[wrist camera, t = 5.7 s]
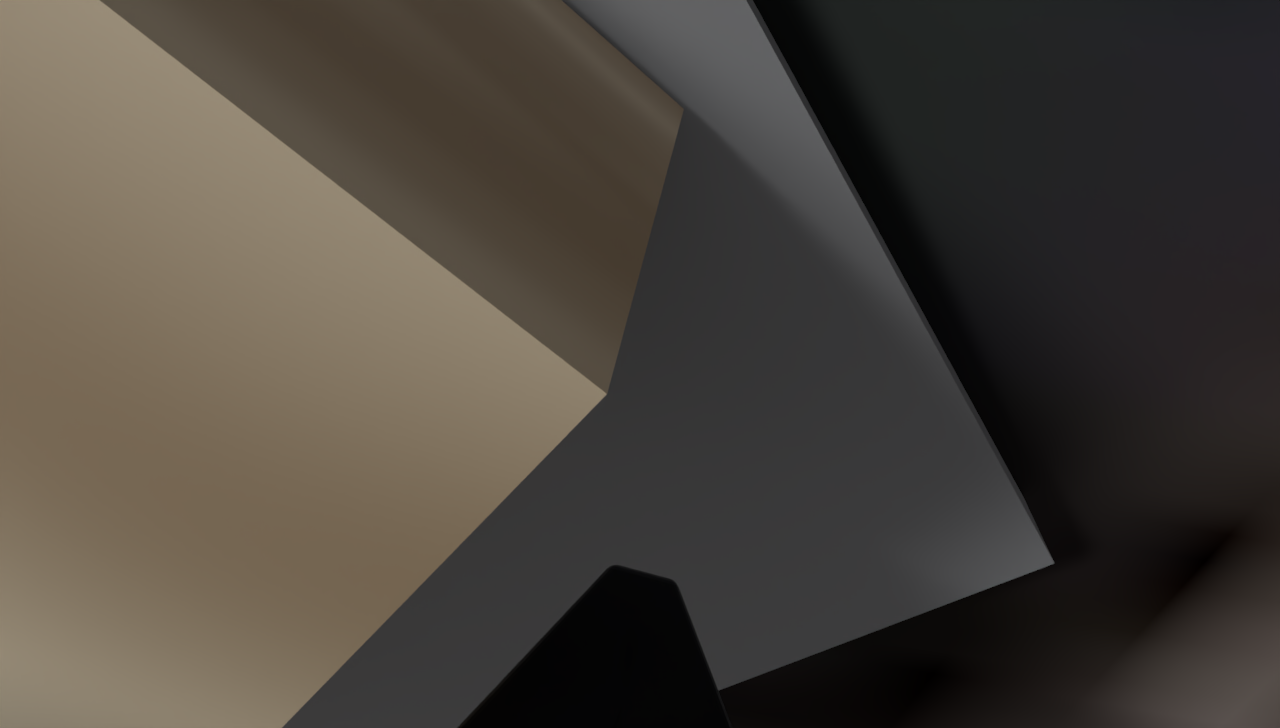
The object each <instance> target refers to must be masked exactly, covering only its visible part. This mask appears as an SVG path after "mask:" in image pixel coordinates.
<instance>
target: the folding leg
mask: <svg viewBox="0 0 1280 728" xmlns="http://www.w3.org/2000/svg"><path fill="white" fill-rule="evenodd" d="M683 111H684V109H683V108H682V107H681V106H680V105H679V104H678V103H677V102H675V101H674V100H673V99H672V98H671V97H670V96H669V95H668V94H666V93H665V92H664V91H663V90H662V89H661V88H660V87H659V86H657V85H656V84H655V83H654V82H653V81H652V80H651V79H650V78H648V77H647V76H646V75H645V74H644V73H643V72H642V71H641V70H639V69H638V68H637V67H636V66H635V65H634V64H633V63H632V62H630V61H629V60H628V59H627V58H626V57H625V56H624V55H623V54H621V53H620V52H619V51H618V50H617V49H616V48H615V47H614V46H612V45H611V44H610V43H609V42H608V41H607V40H606V39H605V38H603V37H602V36H601V35H600V34H599V33H598V32H597V31H596V30H594V29H593V28H592V27H591V26H590V25H589V24H588V23H587V22H585V21H584V20H583V19H582V18H581V17H580V16H579V15H578V14H576V13H575V12H574V11H573V10H572V9H571V8H570V7H569V6H567V5H566V4H565V3H564V2H563V1H562V0H0V728H282V727H283V726H284V725H285V724H286V723H287V722H288V721H289V720H290V719H291V718H292V717H293V716H294V715H295V714H296V713H297V712H298V711H299V710H300V709H301V708H302V706H303V705H304V704H305V703H306V702H307V701H308V700H309V699H310V698H311V697H312V696H313V695H314V694H315V693H316V692H317V691H318V690H319V689H320V688H321V687H322V686H323V685H324V684H325V683H326V682H327V681H328V680H329V679H330V678H331V677H332V676H333V675H334V674H335V673H336V672H337V671H338V670H339V669H340V668H341V666H342V665H343V664H344V663H345V662H346V661H347V660H348V659H349V658H350V657H351V656H352V655H353V654H354V653H355V652H356V651H357V650H358V649H359V648H360V647H361V646H362V645H363V644H364V643H365V642H366V641H367V640H368V639H369V638H370V637H371V636H372V635H373V634H374V633H375V632H376V631H377V630H378V629H379V627H380V626H381V625H382V624H383V623H384V622H385V621H386V620H387V619H388V618H389V617H390V616H391V615H392V614H393V613H394V612H395V611H396V610H397V609H398V608H399V607H400V606H401V605H402V604H403V603H404V602H405V601H406V600H407V599H408V598H409V597H410V596H411V595H412V594H413V593H414V592H415V591H416V590H417V589H418V587H419V586H420V585H421V584H422V583H423V582H424V581H425V580H426V579H427V578H428V577H429V576H430V575H431V574H432V573H433V572H434V571H435V570H436V569H437V568H438V567H439V566H440V565H441V564H442V563H443V562H444V561H445V560H446V559H447V558H448V557H449V556H450V555H451V554H452V553H453V552H454V551H455V550H456V549H457V547H458V546H459V545H460V544H461V543H462V542H463V541H464V540H465V539H466V538H467V537H468V536H469V535H470V534H471V533H472V532H473V531H474V530H475V529H476V528H477V527H478V526H479V525H480V524H481V523H482V522H483V521H484V520H485V519H486V518H487V517H488V516H489V515H490V514H491V513H492V512H493V511H494V510H495V508H496V507H497V506H498V505H499V504H500V503H501V502H502V501H503V500H504V499H505V498H506V497H507V496H508V495H509V494H510V493H511V492H512V491H513V490H514V489H515V488H516V487H517V486H518V485H519V484H520V483H521V482H522V481H523V480H524V479H525V478H526V477H527V476H528V475H529V474H530V473H531V472H532V471H533V470H534V468H535V467H536V466H537V465H538V464H539V463H540V462H541V461H542V460H543V459H544V458H545V457H546V456H547V455H548V454H549V453H550V452H551V451H552V450H553V449H554V448H555V447H556V446H557V445H558V444H559V443H560V442H561V441H562V440H563V439H564V438H565V437H566V436H567V435H568V434H569V433H570V432H571V431H572V430H573V428H574V427H575V426H576V425H577V424H578V423H579V422H580V421H581V420H582V419H583V418H584V417H585V416H586V415H587V414H588V413H589V412H590V411H591V410H592V409H593V408H594V407H595V406H596V405H597V404H598V403H599V402H600V401H601V400H602V399H603V398H604V397H605V396H606V395H607V393H608V389H609V385H610V381H611V378H612V374H613V370H614V367H615V363H616V359H617V355H618V352H619V348H620V344H621V341H622V337H623V333H624V329H625V326H626V322H627V318H628V315H629V311H630V307H631V303H632V300H633V296H634V292H635V289H636V285H637V281H638V278H639V274H640V270H641V266H642V263H643V259H644V255H645V252H646V248H647V244H648V240H649V237H650V233H651V229H652V226H653V222H654V218H655V214H656V211H657V207H658V203H659V200H660V196H661V192H662V189H663V185H664V181H665V177H666V174H667V170H668V166H669V163H670V159H671V155H672V151H673V148H674V144H675V140H676V137H677V133H678V129H679V125H680V122H681V118H682V114H683Z"/></svg>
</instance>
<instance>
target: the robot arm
mask: <svg viewBox="0 0 1280 728" xmlns="http://www.w3.org/2000/svg"><path fill="white" fill-rule="evenodd" d="M457 728H732V725H731V722H730V720H729V717H728V715H727V712H726V709H725V707H724V704H723V701H722V699H721V696H720V694H719V691H718V688H717V686H716V683H715V681H714V678H713V675H712V673H711V670H710V668H709V665H708V662H707V660H706V657H705V654H704V652H703V649H702V647H701V644H700V641H699V639H698V636H697V634H696V631H695V628H694V626H693V623H692V620H691V618H690V615H689V613H688V610H687V607H686V605H685V602H684V600H683V597H682V594H681V592H680V589H679V587H678V585H677V583H676V582H675V581H674V580H672V579H670V578H666V577H662V576H658V575H655V574H651V573H647V572H643V571H640V570H636V569H632V568H628V567H625V566H621V565H612V566H610V567H608V568H607V569H606V570H605V571H604V572H603V573H602V574H601V575H600V576H599V577H598V578H597V579H596V581H595V582H594V583H593V584H592V585H591V586H590V587H589V588H588V589H587V590H586V591H585V592H584V593H583V594H582V595H581V596H580V598H579V599H578V600H577V601H576V602H575V603H574V604H573V605H572V606H571V607H570V608H569V609H568V610H567V611H566V612H565V613H564V615H563V616H562V617H561V618H560V619H559V620H558V621H557V622H556V623H555V624H554V625H553V626H552V627H551V628H550V629H549V630H548V632H547V633H546V634H545V635H544V636H543V637H542V638H541V639H540V640H539V641H538V642H537V643H536V644H535V645H534V646H533V647H532V649H531V650H530V651H529V652H528V653H527V654H526V655H525V656H524V657H523V658H522V659H521V660H520V661H519V662H518V663H517V664H516V666H515V667H514V668H513V669H512V670H511V671H510V672H509V673H508V674H507V675H506V676H505V677H504V678H503V679H502V680H501V681H500V683H499V684H498V685H497V686H496V687H495V688H494V689H493V690H492V691H491V692H490V693H489V694H488V695H487V696H486V697H485V698H484V700H483V701H482V702H481V703H480V704H479V705H478V706H477V707H476V708H475V709H474V710H473V711H472V712H471V713H470V714H469V715H468V717H467V718H466V719H465V720H464V721H463V722H462V723H461V724H460V725H459V726H458V727H457Z"/></svg>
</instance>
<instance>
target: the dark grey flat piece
mask: <svg viewBox="0 0 1280 728" xmlns="http://www.w3.org/2000/svg"><path fill="white" fill-rule="evenodd" d="M562 1H563V2H564V3H565V4H566V5H567V6H569V7H570V8H571V9H572V10H573V11H574V12H575V13H576V14H578V15H579V16H580V17H581V18H582V19H583V20H584V21H585V22H587V23H588V24H589V25H590V26H591V27H592V28H593V29H594V30H596V31H597V32H598V33H599V34H600V35H601V36H602V37H603V38H605V39H606V40H607V41H608V42H609V43H610V44H611V45H612V46H614V47H615V48H616V49H617V50H618V51H619V52H620V53H621V54H623V55H624V56H625V57H626V58H627V59H628V60H629V61H630V62H632V63H633V64H634V65H635V66H636V67H637V68H638V69H639V70H641V71H642V72H643V73H644V74H645V75H646V76H647V77H648V78H650V79H651V80H652V81H653V82H654V83H655V84H656V85H657V86H659V87H660V88H661V89H662V90H663V91H664V92H665V93H666V94H668V95H669V96H670V97H671V98H672V99H673V100H674V101H675V102H677V103H678V104H679V105H680V106H681V107H682V108H683V109H684V111H683V114H682V118H681V122H680V125H679V129H678V133H677V137H676V140H675V144H674V148H673V151H672V155H671V159H670V163H669V166H668V170H667V174H666V177H665V181H664V185H663V189H662V192H661V196H660V200H659V203H658V207H657V211H656V214H655V218H654V222H653V226H652V229H651V233H650V237H649V240H648V244H647V248H646V252H645V255H644V259H643V263H642V266H641V270H640V274H639V278H638V281H637V285H636V289H635V292H634V296H633V300H632V303H631V307H630V311H629V315H628V318H627V322H626V326H625V329H624V333H623V337H622V341H621V344H620V348H619V352H618V355H617V359H616V363H615V367H614V370H613V374H612V378H611V381H610V385H609V389H608V393H607V395H606V396H605V397H604V398H603V399H602V400H601V401H600V402H599V403H598V404H597V405H596V406H595V407H594V408H593V409H592V410H591V411H590V412H589V413H588V414H587V415H586V416H585V417H584V418H583V419H582V420H581V421H580V422H579V423H578V424H577V425H576V426H575V427H574V428H573V430H572V431H571V432H570V433H569V434H568V435H567V436H566V437H565V438H564V439H563V440H562V441H561V442H560V443H559V444H558V445H557V446H556V447H555V448H554V449H553V450H552V451H551V452H550V453H549V454H548V455H547V456H546V457H545V458H544V459H543V460H542V461H541V462H540V463H539V464H538V465H537V466H536V467H535V468H534V470H533V471H532V472H531V473H530V474H529V475H528V476H527V477H526V478H525V479H524V480H523V481H522V482H521V483H520V484H519V485H518V486H517V487H516V488H515V489H514V490H513V491H512V492H511V493H510V494H509V495H508V496H507V497H506V498H505V499H504V500H503V501H502V502H501V503H500V504H499V505H498V506H497V507H496V508H495V510H494V511H493V512H492V513H491V514H490V515H489V516H488V517H487V518H486V519H485V520H484V521H483V522H482V523H481V524H480V525H479V526H478V527H477V528H476V529H475V530H474V531H473V532H472V533H471V534H470V535H469V536H468V537H467V538H466V539H465V540H464V541H463V542H462V543H461V544H460V545H459V546H458V547H457V549H456V550H455V551H454V552H453V553H452V554H451V555H450V556H449V557H448V558H447V559H446V560H445V561H444V562H443V563H442V564H441V565H440V566H439V567H438V568H437V569H436V570H435V571H434V572H433V573H432V574H431V575H430V576H429V577H428V578H427V579H426V580H425V581H424V582H423V583H422V584H421V585H420V586H419V587H418V589H417V590H416V591H415V592H414V593H413V594H412V595H411V596H410V597H409V598H408V599H407V600H406V601H405V602H404V603H403V604H402V605H401V606H400V607H399V608H398V609H397V610H396V611H395V612H394V613H393V614H392V615H391V616H390V617H389V618H388V619H387V620H386V621H385V622H384V623H383V624H382V625H381V626H380V627H379V629H378V630H377V631H376V632H375V633H374V634H373V635H372V636H371V637H370V638H369V639H368V640H367V641H366V642H365V643H364V644H363V645H362V646H361V647H360V648H359V649H358V650H357V651H356V652H355V653H354V654H353V655H352V656H351V657H350V658H349V659H348V660H347V661H346V662H345V663H344V664H343V665H342V666H341V668H340V669H339V670H338V671H337V672H336V673H335V674H334V675H333V676H332V677H331V678H330V679H329V680H328V681H327V682H326V683H325V684H324V685H323V686H322V687H321V688H320V689H319V690H318V691H317V692H316V693H315V694H314V695H313V696H312V697H311V698H310V699H309V700H308V701H307V702H306V703H305V704H304V705H303V706H302V708H301V709H300V710H299V711H298V712H297V713H296V714H295V715H294V716H293V717H292V718H291V719H290V720H289V721H288V722H287V723H286V724H285V725H284V726H283V727H282V728H457V727H458V726H459V725H460V724H461V723H462V722H463V721H464V720H465V719H466V718H467V717H468V715H469V714H470V713H471V712H472V711H473V710H474V709H475V708H476V707H477V706H478V705H479V704H480V703H481V702H482V701H483V700H484V698H485V697H486V696H487V695H488V694H489V693H490V692H491V691H492V690H493V689H494V688H495V687H496V686H497V685H498V684H499V683H500V681H501V680H502V679H503V678H504V677H505V676H506V675H507V674H508V673H509V672H510V671H511V670H512V669H513V668H514V667H515V666H516V664H517V663H518V662H519V661H520V660H521V659H522V658H523V657H524V656H525V655H526V654H527V653H528V652H529V651H530V650H531V649H532V647H533V646H534V645H535V644H536V643H537V642H538V641H539V640H540V639H541V638H542V637H543V636H544V635H545V634H546V633H547V632H548V630H549V629H550V628H551V627H552V626H553V625H554V624H555V623H556V622H557V621H558V620H559V619H560V618H561V617H562V616H563V615H564V613H565V612H566V611H567V610H568V609H569V608H570V607H571V606H572V605H573V604H574V603H575V602H576V601H577V600H578V599H579V598H580V596H581V595H582V594H583V593H584V592H585V591H586V590H587V589H588V588H589V587H590V586H591V585H592V584H593V583H594V582H595V581H596V579H597V578H598V577H599V576H600V575H601V574H602V573H603V572H604V571H605V570H606V569H607V568H608V567H610V566H612V565H621V566H625V567H628V568H632V569H636V570H640V571H643V572H647V573H651V574H655V575H658V576H662V577H666V578H670V579H672V580H674V581H675V582H676V583H677V585H678V587H679V589H680V592H681V594H682V597H683V600H684V602H685V605H686V607H687V610H688V613H689V615H690V618H691V620H692V623H693V626H694V628H695V631H696V634H697V636H698V639H699V641H700V644H701V647H702V649H703V652H704V654H705V657H706V660H707V662H708V665H709V668H710V670H711V673H712V675H713V678H714V681H715V683H716V686H717V688H718V691H719V690H721V689H724V688H727V687H729V686H732V685H735V684H737V683H740V682H743V681H745V680H748V679H750V678H753V677H756V676H758V675H761V674H764V673H766V672H769V671H772V670H774V669H777V668H780V667H782V666H785V665H787V664H790V663H793V662H795V661H798V660H801V659H803V658H806V657H809V656H811V655H814V654H817V653H819V652H822V651H824V650H827V649H830V648H832V647H835V646H838V645H840V644H843V643H846V642H848V641H851V640H854V639H856V638H859V637H861V636H864V635H867V634H869V633H872V632H875V631H877V630H880V629H883V628H885V627H888V626H891V625H893V624H896V623H898V622H901V621H904V620H906V619H909V618H912V617H914V616H917V615H920V614H922V613H925V612H927V611H930V610H933V609H935V608H938V607H941V606H943V605H946V604H949V603H951V602H954V601H957V600H959V599H962V598H964V597H967V596H970V595H972V594H975V593H978V592H980V591H983V590H986V589H988V588H991V587H994V586H996V585H999V584H1001V583H1004V582H1007V581H1009V580H1012V579H1015V578H1017V577H1020V576H1023V575H1025V574H1028V573H1031V572H1033V571H1036V570H1038V569H1041V568H1044V567H1046V566H1049V565H1052V564H1054V561H1053V559H1052V557H1051V555H1050V553H1049V550H1048V548H1047V546H1046V544H1045V542H1044V540H1043V538H1042V535H1041V533H1040V531H1039V529H1038V527H1037V525H1036V523H1035V521H1034V518H1033V516H1032V514H1031V512H1030V510H1029V508H1028V506H1027V503H1026V501H1025V499H1024V497H1023V495H1022V494H1021V492H1020V490H1019V488H1018V486H1017V484H1016V483H1015V481H1014V479H1013V477H1012V475H1011V473H1010V471H1009V470H1008V468H1007V466H1006V464H1005V462H1004V460H1003V459H1002V457H1001V455H1000V453H999V451H998V449H997V448H996V446H995V444H994V442H993V440H992V438H991V437H990V435H989V433H988V431H987V429H986V427H985V426H984V424H983V422H982V420H981V418H980V416H979V415H978V413H977V411H976V409H975V407H974V405H973V404H972V402H971V400H970V398H969V396H968V394H967V393H966V391H965V389H964V387H963V385H962V383H961V382H960V380H959V378H958V376H957V374H956V372H955V371H954V369H953V367H952V365H951V363H950V361H949V360H948V358H947V356H946V354H945V352H944V350H943V348H942V347H941V345H940V343H939V341H938V339H937V337H936V336H935V334H934V332H933V330H932V328H931V326H930V325H929V323H928V321H927V319H926V317H925V315H924V314H923V312H922V310H921V308H920V306H919V304H918V303H917V301H916V299H915V297H914V295H913V293H912V292H911V290H910V288H909V286H908V284H907V282H906V281H905V279H904V277H903V275H902V273H901V271H900V270H899V268H898V266H897V264H896V262H895V260H894V259H893V257H892V255H891V253H890V251H889V249H888V248H887V246H886V244H885V242H884V240H883V238H882V237H881V235H880V233H879V231H878V229H877V227H876V225H875V224H874V222H873V220H872V218H871V216H870V214H869V213H868V211H867V209H866V207H865V205H864V203H863V202H862V200H861V198H860V196H859V194H858V192H857V191H856V189H855V187H854V185H853V183H852V181H851V180H850V178H849V176H848V174H847V172H846V170H845V169H844V167H843V165H842V163H841V161H840V159H839V158H838V156H837V154H836V152H835V150H834V148H833V147H832V145H831V143H830V141H829V139H828V137H827V136H826V134H825V132H824V130H823V128H822V126H821V125H820V123H819V121H818V119H817V117H816V115H815V114H814V112H813V110H812V108H811V106H810V104H809V102H808V101H807V99H806V97H805V95H804V93H803V91H802V90H801V88H800V86H799V84H798V82H797V80H796V79H795V77H794V75H793V73H792V71H791V69H790V68H789V66H788V64H787V62H786V60H785V58H784V57H783V55H782V53H781V51H780V49H779V47H778V46H777V44H776V42H775V40H774V38H773V36H772V35H771V33H770V31H769V29H768V27H767V25H766V24H765V22H764V20H763V18H762V16H761V14H760V13H759V11H758V9H757V7H756V5H755V3H754V2H753V0H562Z"/></svg>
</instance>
